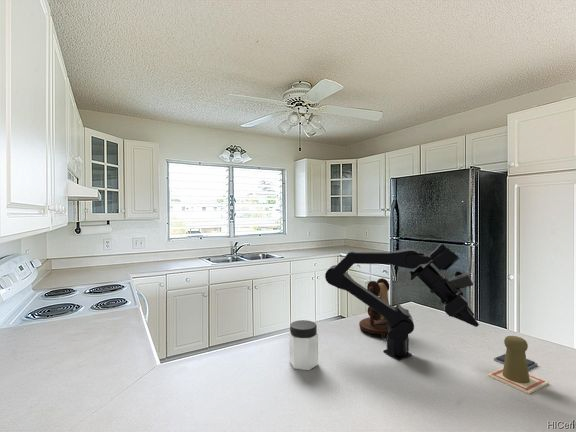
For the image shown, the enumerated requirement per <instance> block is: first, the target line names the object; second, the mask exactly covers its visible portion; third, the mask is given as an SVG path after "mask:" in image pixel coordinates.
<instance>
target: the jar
mask: <svg viewBox="0 0 576 432" xmlns="http://www.w3.org/2000/svg"><path fill="white" fill-rule="evenodd" d="M317 325H318V324H317V323H316V322H314V321H311V320H307V319H306V320H305V319H304V320H302V319H301V320H296V321H295V320H294V321H293V322H291V323H290V325H289V333H288V336H289V337H288V339H289V341H288V342H289V343H288V344H289V345H288V346H289V349H288V350H289V351H288V353H289V355H288V359H289V360H288V361H289V364H291V366H292V368H293V369H295V370H304V371H310V370H312V369H313V368H315V367H317V366H319V334H318V333H317V332H318V331H317V330H318V329H317V328H318V327H317Z"/></svg>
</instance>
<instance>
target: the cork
mask: <svg viewBox="0 0 576 432" xmlns="http://www.w3.org/2000/svg"><path fill="white" fill-rule="evenodd" d="M503 341H504V342H503V343H504V346H505V348H506V351H505V354H506V355H505V361H504V364H503V367H504V368H503V367H502V368H503V376H504V377H505V378H507V379H508V380H511V381H513V382H517V383H529V382H530V379H529V374H530V373H529V369H528V366H527V360H526V359H527V355H526V351H527V350H528V347H529V346H528V342H527V340H526V339H524V338H522V337H519V336H516V335H508V336H505V338H504V340H503Z"/></svg>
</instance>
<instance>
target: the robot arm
mask: <svg viewBox="0 0 576 432" xmlns="http://www.w3.org/2000/svg"><path fill="white" fill-rule="evenodd" d="M459 260H460V257H459V256H458V255H457V254H456V253H455V252H453V251H452V250H451V249H449V248H448V247H447V246H445V244H443V243H440V244H439V245H437V247H436V248H435V249H434V250H433V251H432V252H430V254H428V253H422V252H418V251H417V250H416V249H414V248H409V247H408V248H404V249H403V248H402V249H398V250H393V251H354V250H352V251H348V253H347V254H346V255H345V257H343V258H342V260H341V261H339V262H338V264H335V265H332V266H330V267H329V268H328V269H327V270H326V272H325V275H324V278H325V281H326V283H328V285H331V286H333V287H335V288H337V289H340V290H343V291H346V292H348V293H349V294H351V295H352V296H353V297H355V298H357V300H359V301H361V302H362V303H363V304H365V305H366V306H368V307H371V308H372V309H374V310H375V311H377V312H378V313H379V314H381V315H382V316H384V317H385V319H386V320H387V321H388V322H389V323H388V334H386V349H384V350H383V353H384V354H386V355H388V356H390V357H392V358H393V359H396V360H397V361H398V360H399V361H400V360H402V359H406V358H409V357H411V356H413V354H412V353H411V352H410V351H409V350H410V349H409V346H410V345H409V335H410V334H412V333H413V332H414V329H415V323H414V320H413V316H412V315H411V313H410V311H409V309H407V308H404V307H403V306H402V305H401V304H399V303H397V304H396V305H391V304H390V303H389V304H388V303H386V302H385V301H383V300H382V299H380V298H379V297H380V296H379V297H377V296H376V295H374V294H373V293H372V292H370V291H369V290H368V289H367V287H366V288H365V287H364V286H363V285H361V284H360V283H359V282H357V281H355V280H354V278H352V277H351V275H350V274H349V273H348V271H349V269H350V268H352V267H353V265H355V264H356V265H359V264H360V265H392V266H396V267H400V268H406V269H409V273H410V280H411V281H413V280H414V279H415V278H417V279H419V281H421V283H423V284H424V285H425V286H426V287H427V289H428V290H429V292H431V294H434V295H435V296H436V298H438V299H439V301H440V303H441V304H442V305H443V310H444V313H446V315H448V316H449V317H452V318H454V319H457V320H460V321H462V322H465V323H467V324H468V325H470V326H473V327H475V328H477V327H479V326H480V324H479V322H478V321H477V320H476V318H475V317H474V316H475V313H474V312H473V311H472V309H471V308H470V307H469V303H468V301H467V299H465V297H464V292H463V290H462V289H464V288H467V287H469V288H471V287H472V286H474V283H473V280H472V279H471V277H470V275H469V273H468V272H464V273H463V272H462V271H461V270H456V271H454V276H452V277H450V278H448V277H447V276H444V275H442V274H441V273H440V272H441V271H444V272H445V271H448V270H449V269H450V268H451V267H452V266H453V265H455V264H456V263H457V262H458V261H459ZM422 265H423V266H422ZM433 265H434V266H435V267H436V268H435V267H434V266H433ZM413 269H414V270H413ZM437 269H438V270H439V271H438V270H437Z"/></svg>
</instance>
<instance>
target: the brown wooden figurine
mask: <svg viewBox="0 0 576 432" xmlns="http://www.w3.org/2000/svg"><path fill="white" fill-rule="evenodd" d="M366 289H367V290H369V291H370V292H372V293H373V294H374V295H376V296H377V297H379V298H380V299H382V300H383V301H385V302H386V303H388V304H389V305H390V303H389V302H390V301H389V290H390V284H389V281H388V280H387V279H385V278H384V277H383V278H382V277H381V278H379V279H377V281H375V280H371V281H368V283H367V286H366ZM367 315H368V317H365V318H363V319H361V320H359V323H358V324H359V325H358V326H359V329H360V331H364V332H366V333H370V334H375V335H381V337H382V338H385V335H388V323H389V322H388V321H387V320H386V319H385V317H384V316H382V315H381V314H379V313H378V312H377V311H375V310H374V309H372V308H371V307H369V306H368V307H367Z"/></svg>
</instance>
